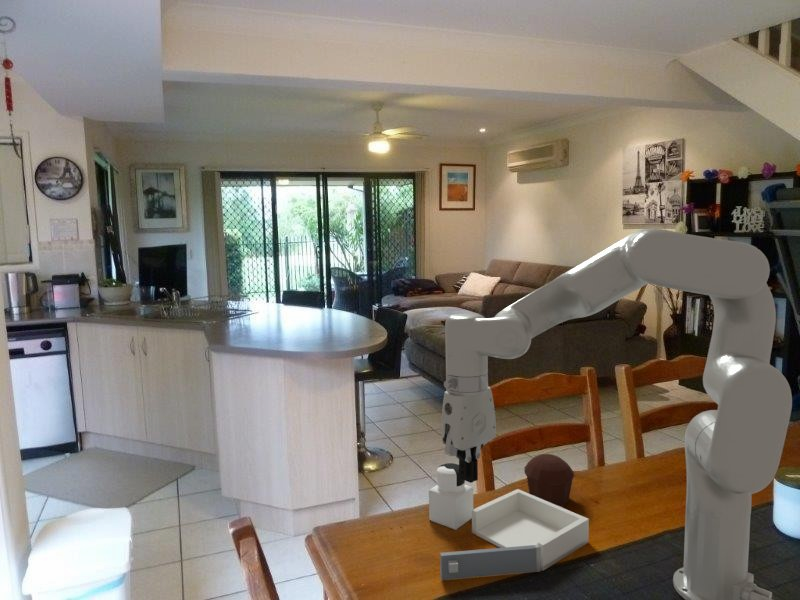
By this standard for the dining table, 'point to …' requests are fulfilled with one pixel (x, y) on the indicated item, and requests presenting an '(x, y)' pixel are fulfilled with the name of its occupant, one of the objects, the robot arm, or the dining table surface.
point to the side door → (490, 562)
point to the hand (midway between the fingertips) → (468, 479)
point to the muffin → (549, 478)
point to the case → (531, 525)
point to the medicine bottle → (450, 498)
